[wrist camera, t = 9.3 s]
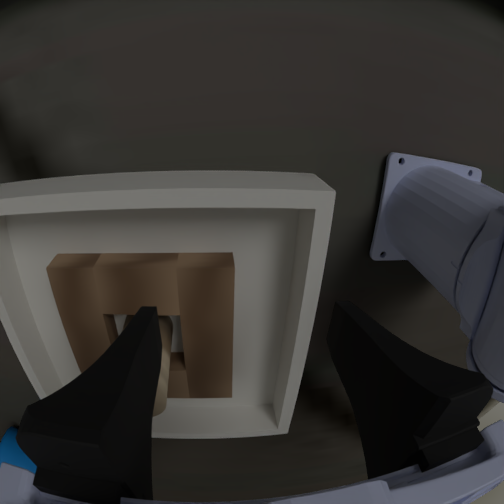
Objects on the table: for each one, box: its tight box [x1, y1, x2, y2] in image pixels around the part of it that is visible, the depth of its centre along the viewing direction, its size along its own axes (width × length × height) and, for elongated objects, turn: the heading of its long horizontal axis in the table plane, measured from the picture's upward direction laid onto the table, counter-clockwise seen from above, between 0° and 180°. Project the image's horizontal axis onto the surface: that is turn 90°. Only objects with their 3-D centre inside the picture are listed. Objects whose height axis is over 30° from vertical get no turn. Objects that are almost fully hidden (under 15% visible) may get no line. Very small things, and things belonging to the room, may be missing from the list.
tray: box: [0, 171, 336, 439], centre depth 22 cm, size 22×22×4 cm
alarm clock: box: [0, 427, 37, 474], centre depth 24 cm, size 13×6×15 cm, turn 148°
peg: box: [122, 315, 173, 417], centre depth 19 cm, size 4×4×7 cm
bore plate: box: [46, 252, 235, 398], centre depth 22 cm, size 12×12×2 cm
